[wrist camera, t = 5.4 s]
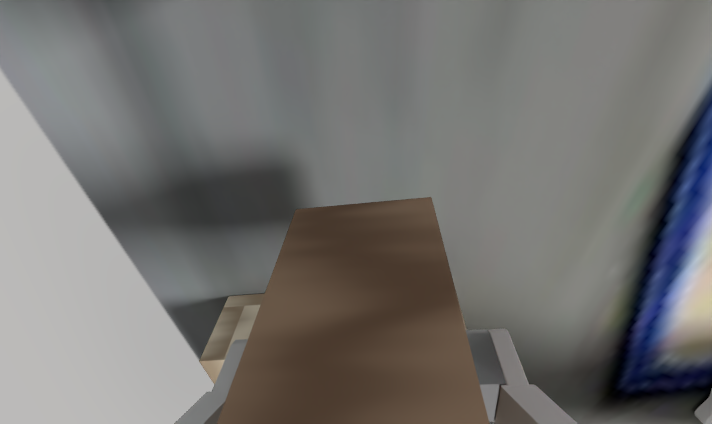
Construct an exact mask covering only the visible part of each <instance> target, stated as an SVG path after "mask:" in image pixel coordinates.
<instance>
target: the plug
mask: <svg viewBox="0 0 712 424" xmlns="http://www.w3.org/2000/svg"><path fill="white" fill-rule="evenodd" d="M217 424H490V423H489V419H488V415H487V411H486V408H485V404H484V400H483V396H482V392H481V388H480V384H479V380H478V376H477V373H476V369H475V365H474V361H473V357H472V353H471V349H470V345H469V342H468V338H467V334H466V330H465V326H464V322H463V318H462V314H461V310H460V307H459V303H458V299H457V295H456V291H455V287H454V283H453V279H452V276H451V272H450V268H449V264H448V260H447V256H446V252H445V248H444V244H443V241H442V237H441V233H440V229H439V225H438V221H437V217H436V213H435V210H434V206H433V202H432V198H431V197H427V198H416V199H405V200H394V201H383V202H371V203H360V204H349V205H338V206H327V207H316V208H305V209H296V210H295V213H294V216H293V218H292V221H291V224H290V226H289V229H288V232H287V235H286V237H285V240H284V243H283V245H282V248H281V251H280V254H279V256H278V259H277V262H276V265H275V267H274V270H273V273H272V275H271V278H270V281H269V284H268V286H267V289H266V292H265V294H264V297H263V300H262V303H261V305H260V308H259V311H258V313H257V316H256V319H255V322H254V324H253V327H252V330H251V332H250V335H249V338H248V341H247V343H246V346H245V349H244V351H243V354H242V357H241V360H240V362H239V365H238V368H237V370H236V373H235V376H234V379H233V381H232V384H231V387H230V389H229V392H228V395H227V398H226V400H225V403H224V406H223V408H222V411H221V414H220V417H219V419H218V422H217Z"/></svg>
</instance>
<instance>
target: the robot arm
mask: <svg viewBox="0 0 712 424" xmlns="http://www.w3.org/2000/svg"><path fill="white" fill-rule="evenodd" d="M466 334H467V338H468V342H469V345H470V349H471V353H472V357H473V361H474V365H475V369H476V373H477V376H478V380H479V384H480V388H481V392H482V396H483V400H484V404H485V408H486V411H487V415H488V419H489V422H495V424H578V423H577V422H575V421H574V420H573V419H572V418H571V417H570V416H569V415H568V414H567V413H566V412H564V411H563V410H562V409H561V408H560V407H559V406H558V405H557V404H556V403H555V402H554V401H552V400H551V399H550V398H549V397H548V396H547V395H546V394H545V393H544V392H543V391H541V390H540V389H539V388H538V387H537V386H536V385H531V384H529V383H528V380H527V378H526V375H525V373H524V370H523V367H522V365H521V362H520V360H519V357H518V354H517V352H516V349H515V347H514V344H513V342H512V339H511V336H510V334H509V332H508V331H507V329H505V328H503V329H488V330H487V329H476V330H466ZM247 341H248V339H244V340H235V341H234V342H233V343H232V345H231V346H230V349H229V351H228V354H227V356H226V358H225V361H224V363H223V366H222V368H221V370H220V373H219V375H218V378H217V380H216V383H215V385H214V387H213V390H212V392H207V393H206V394H205V395H203V397H201V398H200V399H199V400H198V401H197V402H196V403H195V404H194V405H193V406H192V407H191V408H190V409H189V410H188V411H187V412H186V413H185V414H184V415H183V416H182V417H181V418H180V419H179V420H178V421H176V422H175V423H174V424H217V422H218V419H219V417H220V414H221V411H222V408H223V406H224V403H225V400H226V398H227V395H228V392H229V389H230V387H231V384H232V381H233V379H234V376H235V373H236V370H237V368H238V365H239V362H240V360H241V357H242V354H243V351H244V349H245V346H246V343H247ZM695 416H696V417H697V418H698V419H699V420H700V421H701V422H702V423H703V424H712V390H711V394H710V396H709V398H708V399H707V400H706V401H704V402H703V403H702V404H701V405H700V406H699V407H698V408H697V410H696V411H695Z"/></svg>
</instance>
